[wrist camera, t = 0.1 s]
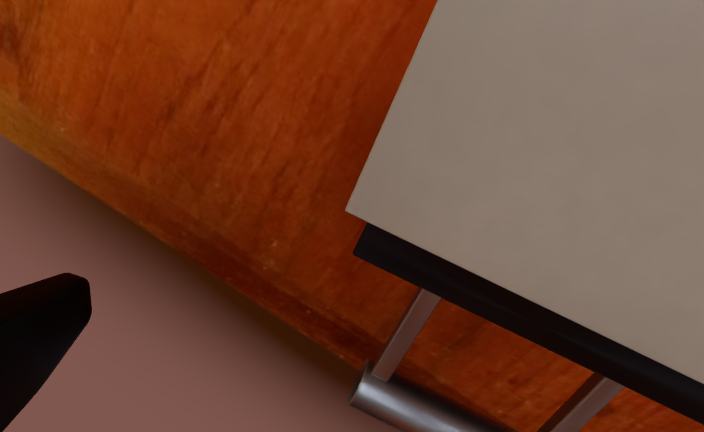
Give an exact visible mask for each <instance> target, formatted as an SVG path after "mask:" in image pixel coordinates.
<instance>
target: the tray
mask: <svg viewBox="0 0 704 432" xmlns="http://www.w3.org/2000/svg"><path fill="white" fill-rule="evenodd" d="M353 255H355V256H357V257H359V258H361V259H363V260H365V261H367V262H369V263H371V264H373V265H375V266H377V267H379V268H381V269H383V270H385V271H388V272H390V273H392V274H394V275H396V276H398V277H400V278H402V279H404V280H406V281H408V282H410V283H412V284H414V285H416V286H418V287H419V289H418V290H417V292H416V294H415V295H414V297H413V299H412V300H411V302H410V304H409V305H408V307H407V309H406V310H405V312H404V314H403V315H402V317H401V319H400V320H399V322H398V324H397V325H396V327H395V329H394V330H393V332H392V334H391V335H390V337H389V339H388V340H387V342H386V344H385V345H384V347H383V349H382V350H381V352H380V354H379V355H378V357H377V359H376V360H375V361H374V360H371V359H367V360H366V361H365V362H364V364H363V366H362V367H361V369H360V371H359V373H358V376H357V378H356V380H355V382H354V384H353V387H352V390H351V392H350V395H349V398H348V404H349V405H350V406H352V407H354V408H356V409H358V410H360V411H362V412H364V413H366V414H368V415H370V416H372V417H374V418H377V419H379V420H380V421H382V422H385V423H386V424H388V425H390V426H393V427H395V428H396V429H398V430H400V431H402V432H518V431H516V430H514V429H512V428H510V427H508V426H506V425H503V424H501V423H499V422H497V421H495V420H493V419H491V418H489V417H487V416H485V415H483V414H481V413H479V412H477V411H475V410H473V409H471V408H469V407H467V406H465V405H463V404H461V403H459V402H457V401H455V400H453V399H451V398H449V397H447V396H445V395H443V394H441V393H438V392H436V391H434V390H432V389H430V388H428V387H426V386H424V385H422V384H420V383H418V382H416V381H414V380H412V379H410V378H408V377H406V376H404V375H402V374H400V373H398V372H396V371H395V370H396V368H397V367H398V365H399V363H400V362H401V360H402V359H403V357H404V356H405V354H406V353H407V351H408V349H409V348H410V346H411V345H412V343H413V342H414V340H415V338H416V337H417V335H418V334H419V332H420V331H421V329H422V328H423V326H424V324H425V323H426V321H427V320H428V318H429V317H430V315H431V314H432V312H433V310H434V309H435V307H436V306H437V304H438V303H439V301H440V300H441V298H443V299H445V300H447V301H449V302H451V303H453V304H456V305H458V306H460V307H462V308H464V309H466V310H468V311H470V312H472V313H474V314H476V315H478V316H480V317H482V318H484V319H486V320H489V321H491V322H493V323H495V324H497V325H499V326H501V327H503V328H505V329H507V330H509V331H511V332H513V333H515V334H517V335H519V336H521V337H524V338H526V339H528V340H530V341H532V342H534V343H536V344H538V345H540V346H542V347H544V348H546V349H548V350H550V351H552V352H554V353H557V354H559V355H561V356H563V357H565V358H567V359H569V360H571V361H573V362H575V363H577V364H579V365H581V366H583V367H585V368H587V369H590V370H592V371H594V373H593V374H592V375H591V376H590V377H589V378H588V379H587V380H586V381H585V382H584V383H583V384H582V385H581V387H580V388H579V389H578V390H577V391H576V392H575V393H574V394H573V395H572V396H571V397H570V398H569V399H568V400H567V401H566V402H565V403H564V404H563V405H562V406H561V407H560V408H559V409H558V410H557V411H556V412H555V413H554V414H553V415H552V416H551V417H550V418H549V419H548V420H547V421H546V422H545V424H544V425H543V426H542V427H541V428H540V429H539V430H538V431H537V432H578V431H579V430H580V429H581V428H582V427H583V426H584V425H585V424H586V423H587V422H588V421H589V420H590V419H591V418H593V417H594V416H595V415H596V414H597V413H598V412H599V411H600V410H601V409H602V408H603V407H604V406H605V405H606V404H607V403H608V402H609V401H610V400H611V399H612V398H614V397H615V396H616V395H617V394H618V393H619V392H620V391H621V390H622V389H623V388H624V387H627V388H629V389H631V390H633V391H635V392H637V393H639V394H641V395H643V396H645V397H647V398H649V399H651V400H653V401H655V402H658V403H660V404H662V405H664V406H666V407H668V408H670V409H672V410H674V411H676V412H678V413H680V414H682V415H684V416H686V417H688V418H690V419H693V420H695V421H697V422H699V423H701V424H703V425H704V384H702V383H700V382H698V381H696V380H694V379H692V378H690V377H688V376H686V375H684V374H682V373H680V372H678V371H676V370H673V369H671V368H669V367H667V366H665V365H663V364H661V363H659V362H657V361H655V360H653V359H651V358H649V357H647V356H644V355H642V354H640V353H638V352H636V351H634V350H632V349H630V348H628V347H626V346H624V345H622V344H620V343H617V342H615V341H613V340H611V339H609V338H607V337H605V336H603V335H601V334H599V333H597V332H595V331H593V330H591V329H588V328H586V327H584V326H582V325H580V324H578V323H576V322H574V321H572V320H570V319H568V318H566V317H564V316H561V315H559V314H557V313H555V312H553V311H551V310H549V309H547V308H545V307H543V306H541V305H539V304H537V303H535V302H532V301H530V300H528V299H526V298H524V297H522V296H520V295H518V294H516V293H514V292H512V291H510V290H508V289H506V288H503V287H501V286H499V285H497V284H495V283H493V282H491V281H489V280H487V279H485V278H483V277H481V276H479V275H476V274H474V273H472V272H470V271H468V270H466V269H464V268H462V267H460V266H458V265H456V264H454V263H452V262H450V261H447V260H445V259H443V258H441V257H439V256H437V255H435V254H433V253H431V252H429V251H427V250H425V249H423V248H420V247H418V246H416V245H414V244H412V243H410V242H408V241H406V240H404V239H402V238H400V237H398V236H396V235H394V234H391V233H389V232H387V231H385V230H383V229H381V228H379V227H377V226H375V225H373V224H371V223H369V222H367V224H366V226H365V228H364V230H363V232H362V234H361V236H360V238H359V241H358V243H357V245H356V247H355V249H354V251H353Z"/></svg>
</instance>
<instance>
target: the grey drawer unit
mask: <svg viewBox="0 0 704 432" xmlns="http://www.w3.org/2000/svg"><path fill="white" fill-rule="evenodd" d="M345 211H346V212H348V213H350V214H352V215H354V216H356V217H358V218H360V219H362V220H365V221H367V222H369V223H371V224H373V225H375V226H377V227H379V228H381V229H383V230H385V231H387V232H389V233H391V234H394V235H396V236H398V237H400V238H402V239H404V240H406V241H408V242H410V243H412V244H414V245H416V246H418V247H420V248H423V249H425V250H427V251H429V252H431V253H433V254H435V255H437V256H439V257H441V258H443V259H445V260H447V261H450V262H452V263H454V264H456V265H458V266H460V267H462V268H464V269H466V270H468V271H470V272H472V273H474V274H476V275H479V276H481V277H483V278H485V279H487V280H489V281H491V282H493V283H495V284H497V285H499V286H501V287H503V288H506V289H508V290H510V291H512V292H514V293H516V294H518V295H520V296H522V297H524V298H526V299H528V300H530V301H532V302H535V303H537V304H539V305H541V306H543V307H545V308H547V309H549V310H551V311H553V312H555V313H557V314H559V315H561V316H564V317H566V318H568V319H570V320H572V321H574V322H576V323H578V324H580V325H582V326H584V327H586V328H588V329H591V330H593V331H595V332H597V333H599V334H601V335H603V336H605V337H607V338H609V339H611V340H613V341H615V342H617V343H620V344H622V345H624V346H626V347H628V348H630V349H632V350H634V351H636V352H638V353H640V354H642V355H644V356H647V357H649V358H651V359H653V360H655V361H657V362H659V363H661V364H663V365H665V366H667V367H669V368H671V369H673V370H676V371H678V372H680V373H682V374H684V375H686V376H688V377H690V378H692V379H694V380H696V381H698V382H700V383H702V384H704V0H437V2H436V5H435V7H434V9H433V11H432V14H431V16H430V18H429V20H428V23H427V25H426V27H425V29H424V32H423V34H422V36H421V38H420V41H419V43H418V45H417V48H416V50H415V52H414V54H413V57H412V59H411V61H410V63H409V66H408V68H407V70H406V72H405V75H404V77H403V79H402V82H401V84H400V86H399V88H398V91H397V93H396V95H395V97H394V100H393V102H392V104H391V106H390V109H389V111H388V113H387V115H386V118H385V120H384V122H383V125H382V127H381V129H380V131H379V134H378V136H377V138H376V140H375V143H374V145H373V147H372V149H371V152H370V154H369V156H368V158H367V161H366V163H365V165H364V168H363V170H362V172H361V174H360V177H359V179H358V181H357V183H356V186H355V188H354V190H353V192H352V195H351V197H350V199H349V201H348V204H347V206H346V208H345Z"/></svg>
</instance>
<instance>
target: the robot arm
mask: <svg viewBox="0 0 704 432" xmlns="http://www.w3.org/2000/svg"><path fill="white" fill-rule="evenodd" d="M91 313H92V306H91V296H90V285H89V282H88V281H87V279H85V278H83V277H80V276H77V275H74V274H71V273H63V274H59V275H56V276H53V277H50V278H47V279H44V280H41V281H38V282H35V283H32V284H29V285H26V286H23V287H20V288H17V289H14V290H10V291H7V292H4V293H1V294H0V432H3V430H4V429H5V428H6V427H7V426H8V425H9V424H10V423H11V421H12V420H13V419H14V418H15V417H16V416H17V415H18V413H19V412H20V411H21V410H22V409H23V408H24V407H25V405H26V404H27V403H28V402H29V401H30V400H31V399H32V398H33V396H34V395H35V394H36V393H37V392H38V390H39V389H40V388H41V387H42V385H43V384H44V383H45V381H46V380H47V379H48V377H49V376H50V375H51V373H52V372H53V370H54V369H55V368H56V366H57V365H58V364H59V362H60V361H61V359H62V358H63V356H64V355H65V354H66V352H67V351H68V349H69V348H70V347H71V346H72V344H73V343H74V341H75V340H76V339H77V337H78V336H79V334H80V333H81V332H82V330H83V329H84V327H85V326H86V325H87V323H88V322H89V320H90V317H91Z"/></svg>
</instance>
